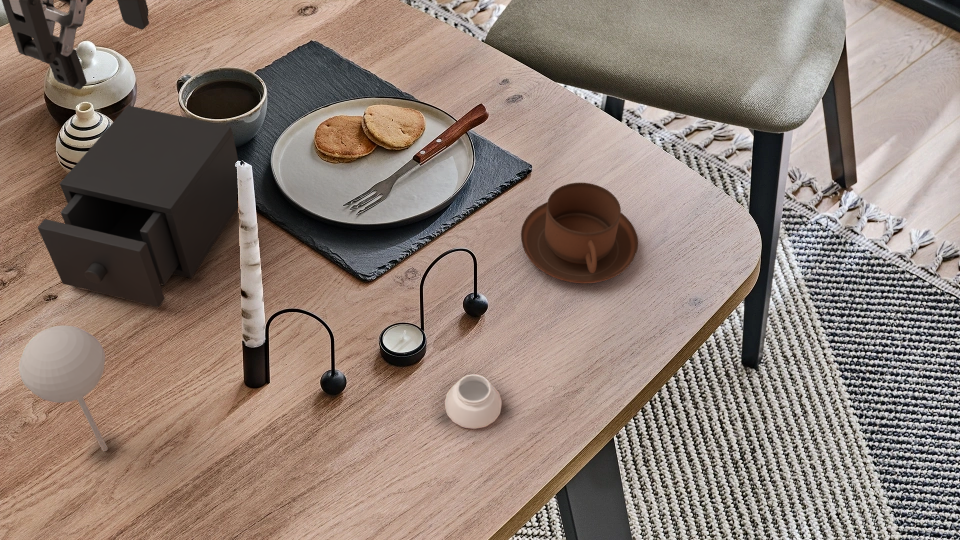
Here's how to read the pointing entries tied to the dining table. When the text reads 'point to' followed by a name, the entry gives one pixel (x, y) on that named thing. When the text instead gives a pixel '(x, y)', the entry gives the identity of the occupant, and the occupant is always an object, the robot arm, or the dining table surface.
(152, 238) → the black rectangular drawer
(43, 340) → the lollipop
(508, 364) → the dining table surface
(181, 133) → the small drawer cabinet
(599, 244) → the cup and saucer
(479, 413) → the lidless jar
